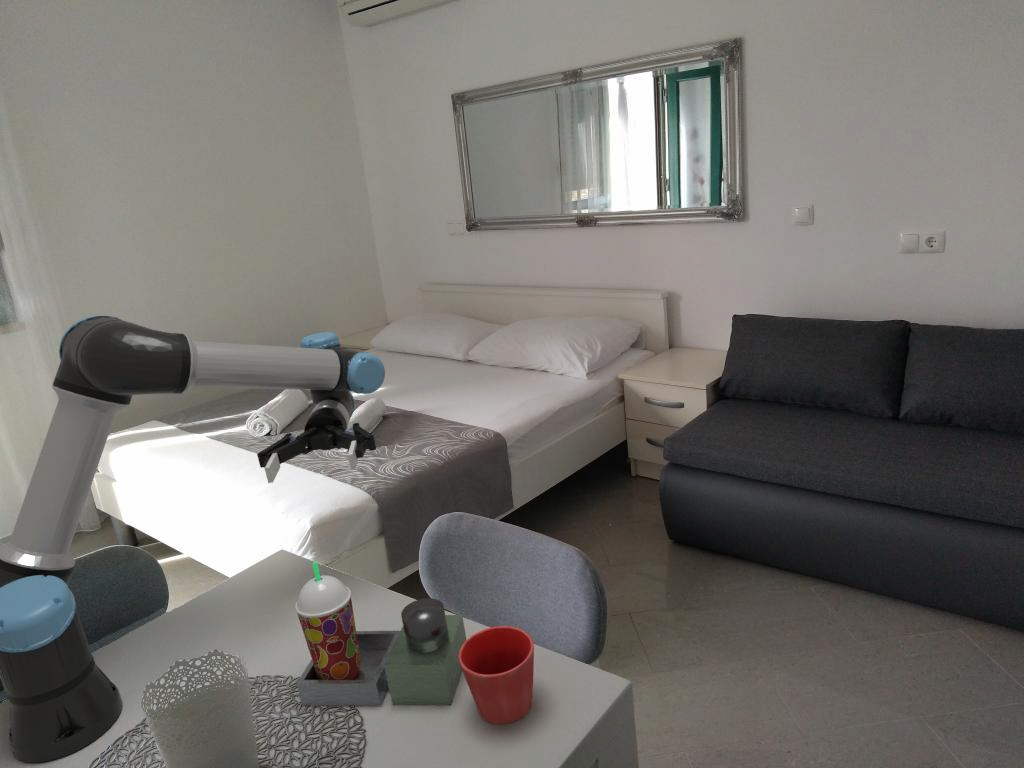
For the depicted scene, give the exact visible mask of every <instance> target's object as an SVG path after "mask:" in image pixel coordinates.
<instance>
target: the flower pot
mask: <svg viewBox="0 0 1024 768" xmlns="http://www.w3.org/2000/svg"><path fill="white" fill-rule="evenodd" d="M534 647H535V646H534V642H533V638H532V637H531V636H530V634H529V633H527V632H526V631H525V630H523V629H521V628H519V627H516V626H515V627H514V626H509V625H508V626H507V625H501V626H500V625H499V626H493V627H489V628H484V629H483V630H480V631H477V632H475V633H474V634H472V635H471V636H470V637H468V638H466V641H465V643H464V644H463V645H462V647H461V649H460V652H459V662H460V666H461V669H462V673H463V674H462V675H463V676H464V678H465V681H466V683H467V686H468V689H469V691H470V694H471V695H472V698H473V700H474V704H475V705H476V708H477V710H478V712H479V715H480V717H482V718H483V720H485V722H488V723H489V724H494V725H501V726H503V725H508V724H512V723H515V722H518V721H521V719H523V717H524V716H525V715H527V714H528V713H529V711H530V710H531V707H532V704H533V694H534V692H533V691H534V671H535V670H534V666H535V665H534V663H535V661H534V660H535V653H534V652H535V651H534V650H535V648H534Z"/></svg>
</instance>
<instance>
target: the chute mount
mask: <svg viewBox="0 0 1024 768" xmlns="http://www.w3.org/2000/svg"><path fill="white" fill-rule="evenodd" d="M400 615H401V617H400V618H401V620H402V627H401V629H400V630H356V634H357V641H358V647H359V654H360V661H361V665H360V668H359V672H358V675H357V676H356V677H355V678H354V679H353V680H320V679H319V678H318V676H317V673H316V670H315V667H314V664H313V661H312V659H311V660H310V661H309V663H308V664H307V666H306V668H305V669H304V671H303V673H302V674H301V676H300V678H298V681H297V682H296V686H297V690H298V696H299V698H300V699H299V700H300V702H301V706H302V705H320V706H319V707H321V705H323V706H324V707H325V706H326V707H327V706H328V707H382V705H383V702H384V701H385V698H386V696H387V694H388V692H389V694H390V699H391V703H392V706H452V704H453V700H454V698H455V695H456V692H457V689H458V686H459V683H460V680H461V676H462V675H463V674H462V673H463V671H462V669H461V666H460V662H459V652H460V649H461V647H462V645H463V644H464V643H465V641H466V640H467V635H466V629H465V623H464V617H463V614H446V610H445V605H444V603H443V602H442V601H440V600H439V599H436V598H431V597H428V598H427V597H425V598H420V599H417V600H414V601H411V602H410V603H408V604H407V605H405V607H404V608H403V609H402V610H401V614H400ZM323 706H322V707H323Z"/></svg>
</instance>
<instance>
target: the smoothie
mask: <svg viewBox="0 0 1024 768" xmlns="http://www.w3.org/2000/svg"><path fill="white" fill-rule="evenodd" d="M312 567H313V571H314V575H315V577H313V578H311V579H309V580H308V581H307V582H306V583H304V585H303V586H302V587H301V590H300V592H299V594H298V596H297V600H296V602H295V605H294V606H295V609H294V610H295V613H297V614H296V615H297V618H298V620H299V623H300V626H301V631H302V632H303V636H304V638H305V642H306V645H307V648H308V651H309V653H310V657H311V660H312V661H313V664H314V667H315V670H316V673H317V676H318V678H319V679H320V680H353V679H354V678H355V677H356V676H357V675H358V672H359V668H360V665H361V661H360V654H359V647H358V641H357V634H356V631H357V629H356V621H355V614H354V609H353V603H352V590H351V589H350V588H349V586H346V585H345V584H344V583H343V582H342V581H341V580H340V579H339V578H337V577H335V576H332V575H327V574H325V575H324V574H323V575H320V569H319V565H318V562H317V561H314V562H312Z"/></svg>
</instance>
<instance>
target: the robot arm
mask: <svg viewBox="0 0 1024 768" xmlns="http://www.w3.org/2000/svg"><path fill="white" fill-rule="evenodd" d="M58 351H59V352H58V354H59V359H60V362H59V365H58V368H57V371H56V374H55V376H54V379H53V382H52V386H51V387H52V389H53V391H54V393H55V394H56V396H57V398H58V401H57V404H56V406H55V409H54V413H53V415H52V419H51V421H50V424H49V426H48V430H47V432H46V436H45V437H44V441H43V444H42V447H41V449H40V453H39V456H38V458H37V461H36V465H35V467H34V470H33V472H32V475H31V478H30V481H29V485H28V487H27V490H26V493H25V496H24V499H23V501H22V504H21V507H20V511H19V513H18V516H17V519H16V522H15V524H14V527H13V530H12V533H11V536H10V539H9V540H8V541H7V542H4V543H3V544H2V545H1V544H0V681H1V683H2V686H3V688H4V691H5V693H6V697H7V699H8V702H9V721H10V728H9V732H8V741H9V744H10V745H9V746H10V747H11V750H12V752H13V754H14V756H15V758H17V759H18V760H20V761H23V762H26V763H42V762H43V763H44V762H49V761H53V760H57V759H60V758H62V757H66V756H68V755H70V754H73V753H75V752H77V751H79V750H80V749H83V748H85V747H86V746H89V744H91V743H93V742H94V741H96V740H97V739H98V738H100V737H101V736H102V735H104V734H105V733H106V732H107V731H108V730H109V729H110V728H111V727H112V726H113V725H114V724H115V722H116V721H117V720H118V718H119V717H120V715H121V714H122V713H121V712H122V710H123V699H122V696H121V694H120V690H119V689H118V687H117V686H116V685H115V683H114V682H112V681H111V679H110V678H109V677H108V676H107V674H105V672H103V670H102V669H101V668H100V667H99V666H98V665H97V664H96V662H95V661H96V660H95V657H94V656H93V655H94V654H93V653H92V650H91V647H90V644H89V641H88V638H87V636H86V635H87V634H86V633H85V629H84V627H83V624H82V621H81V619H80V616H79V613H78V610H77V608H76V607H77V606H76V599H75V596H74V594H73V592H72V591H71V589H70V588H69V584H70V580H71V577H72V574H73V570H74V567H75V566H76V565H75V564H76V560H75V559H74V557H73V556H72V554H71V552H70V549H71V547H72V542H73V540H74V537H75V534H76V531H77V528H78V525H79V522H80V520H81V517H82V514H83V511H84V508H85V505H86V502H87V499H88V496H89V493H90V490H91V487H92V485H93V481H94V478H95V477H96V476H95V475H96V473H97V470H98V467H99V464H100V461H101V457H102V454H103V452H104V449H105V446H106V444H107V441H108V437H109V434H110V431H111V429H112V426H113V423H114V420H115V417H116V414H117V413H118V412H120V411H122V410H124V409H126V408H128V407H129V406H130V403H131V401H132V399H133V396H137V395H138V396H139V395H158V394H159V395H162V394H163V395H165V394H169V395H171V394H179V395H181V394H185V393H186V392H187V391H188V390H189V389H190V388H193V389H194V388H197V389H198V388H201V389H203V388H205V389H206V388H207V389H246V390H247V389H249V390H250V389H251V390H252V389H253V390H254V389H255V390H257V389H258V390H260V389H261V390H304V391H305V390H307V391H308V390H309V391H310V395H311V400H312V406H313V409H311V412H310V414H309V415H308V416H309V417H308V419H307V421H306V422H305V425H304V428H303V429H304V430H303V432H301V433H300V434H299V435H297V436H293V434H292V433H290V432H289V433H288V432H287V433H286V434H284V436H283V437H282V438H280V439H279V440H277V441H276V442H274V443H272V444H271V445H269V446H267V447H266V448H264V449H262V450H260V451H259V452H258V453H256V456H257V459H258V463H259V467H260V468H264V471H265V475H266V479H267V483H268V484H271V483H272V484H273V483H274V481H275V479H276V477H277V475H278V473H279V470H280V469H281V465H282V464H284V463H285V462H287V461H289V460H291V459H294V458H296V457H298V456H299V455H307V454H309V453H312V452H313V451H318V450H320V451H331V450H333V449H337V450H340V449H345V450H348V453H347V459H348V462H349V467H350V470H351V471H354V470H356V468H357V463H358V460H359V459H361V458H363V457H364V456H365V453H366V452H367V450H369V451H375V450H377V446H376V445H377V444H376V440H375V435H374V434H372V433H370V432H369V431H367V430H366V429H364V428H363V427H361V424H360V423H359V422H354V423H353V424H352V425H351V426H350V427H349V424H350V421H351V417H352V416H353V415H354V410H355V399H354V395H353V394H352V393H351V392H353V393H356V394H357V395H358V394H359V395H360V394H363V395H369V394H370V395H371V394H372V393H375V392H376V391H378V390H379V388H381V386H382V384H383V383H384V380H385V376H386V374H385V373H386V369H385V365H384V363H383V361H382V360H381V359H380V358H379V357H377V356H376V355H375V354H372V353H370V352H367V351H358V350H354V349H350V348H346V347H342V345H341V342H340V339H339V336H338V335H337V334H336V332H334V331H333V332H332V331H325V332H323V331H322V332H317V333H313V334H310V335H307V336H305V337H304V338H302V339H301V341H300V347H296V346H295V347H294V346H283V345H280V346H279V345H267V344H266V345H265V344H248V343H233V342H232V343H231V342H218V341H217V342H216V341H202V340H201V341H200V340H192V339H191V338H190V337H189V336H188V335H187V334H185V333H176V332H166V331H161V330H157V329H154V328H153V329H152V328H148V327H146V326H143V325H139V324H137V323H133V322H131V321H126V320H123V319H121V318H118V317H116V316H110V315H99V314H98V315H92V316H88V317H85V318H82V319H80V320H78V321H76V322H75V323H73V324H72V325H70V326H69V327H68V329H67V330H66V331H65V332H64V333H63V335H62V336H61V340H60V343H59V350H58ZM348 427H349V428H348Z"/></svg>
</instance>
